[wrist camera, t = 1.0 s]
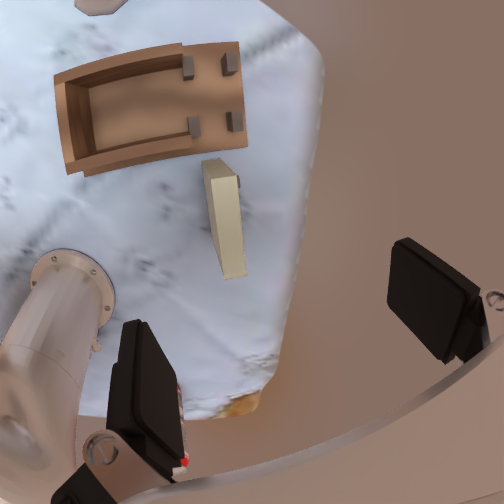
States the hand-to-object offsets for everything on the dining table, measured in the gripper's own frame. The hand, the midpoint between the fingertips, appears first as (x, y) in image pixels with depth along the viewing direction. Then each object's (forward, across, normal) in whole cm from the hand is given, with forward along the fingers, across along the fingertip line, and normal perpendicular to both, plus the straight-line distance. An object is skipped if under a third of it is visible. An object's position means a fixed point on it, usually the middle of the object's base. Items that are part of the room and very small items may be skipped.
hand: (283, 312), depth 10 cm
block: (+24, 0, +3) cm, 24 cm away
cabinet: (+24, +4, -9) cm, 26 cm away
